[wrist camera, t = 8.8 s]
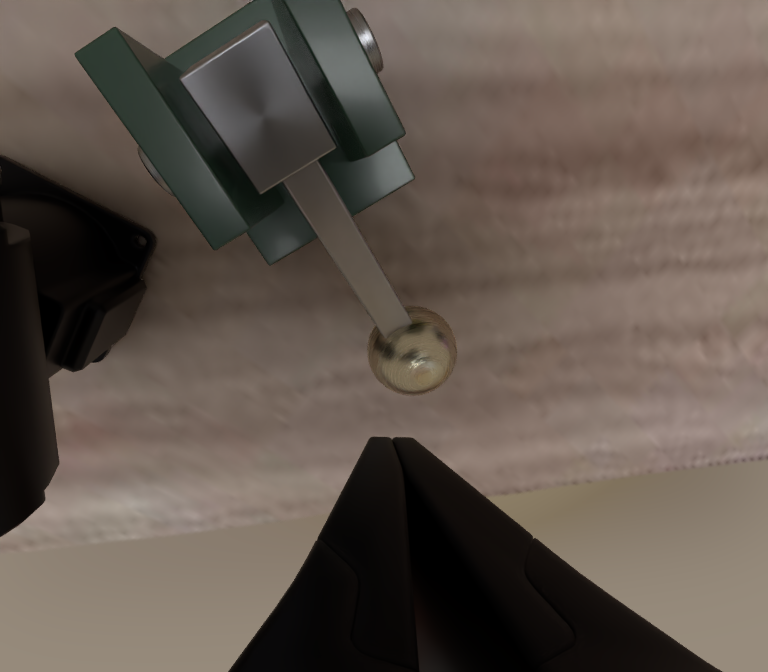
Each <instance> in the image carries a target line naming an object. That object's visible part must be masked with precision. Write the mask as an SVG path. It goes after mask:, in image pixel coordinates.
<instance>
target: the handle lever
mask: <svg viewBox="0 0 768 672" xmlns="http://www.w3.org/2000/svg"><path fill="white" fill-rule="evenodd" d="M179 81H180V83H181V84H182V85H183V87H184V88H185V90H186V91H187V93H188V94H189V95H190V97H191V98H192V100H193V101H194V103H195V104H196V105H197V107H198V108H199V110H200V111H201V113H202V114H203V115H204V117H205V118H206V120H207V121H208V122H209V124H210V125H211V127H212V128H213V130H214V131H215V132H216V134H217V135H218V137H219V138H220V140H221V141H222V142H223V144H224V145H225V147H226V148H227V150H228V151H229V152H230V154H231V155H232V157H233V158H234V159H235V161H236V162H237V164H238V165H239V167H240V168H241V169H242V171H243V172H244V174H245V175H246V177H247V178H248V179H249V181H250V182H251V184H252V185H253V187H254V188H255V189H256V191H257V192H258V193H259V194H262V193H264V192H266V191H267V190H269V189H271V188H272V187H274V186H275V185H277V184H279V183H280V182H282V183H283V185H284V186H285V188H286V189H287V191H288V192H289V194H290V195H291V197H292V199H293V200H294V202H295V203H296V205H297V206H298V208H299V209H300V211H301V212H302V214H303V215H304V217H305V218H306V220H307V221H308V223H309V224H310V226H311V227H312V229H313V231H314V232H315V234H316V235H317V237H318V238H319V240H320V241H321V243H322V244H323V246H324V247H325V249H326V250H327V252H328V253H329V255H330V256H331V258H332V259H333V261H334V263H335V264H336V266H337V267H338V269H339V270H340V272H341V273H342V275H343V276H344V278H345V279H346V281H347V282H348V284H349V285H350V287H351V288H352V290H353V292H354V293H355V295H356V296H357V298H358V299H359V301H360V302H361V304H362V305H363V307H364V308H365V310H366V311H367V313H368V314H369V316H370V317H371V319H372V320H373V322H374V324H375V326H374V328H373V330H372V332H371V334H370V337H369V340H368V346H367V355H368V361H369V365H370V367H371V370H372V372H373V373H374V375H375V377H376V378H377V379H378V380H379V382H380V383H382V384H383V385H384V386H385V387H386V388H388V389H390V390H391V391H393V392H396V393H399V394H402V395H408V396H415V395H423V394H426V393H429V392H431V391H433V390H435V389H437V388H438V387H439V386H441V385H442V384H443V383H444V382H445V381H446V380H447V379H448V377H449V376H450V374H451V373H452V371H453V368H454V366H455V363H456V358H457V343H456V339H455V336H454V333H453V331H452V329H451V328H450V326H449V324H448V323H447V322H446V321H445V320H444V319H443V318H442V317H441V316H440V315H438V314H437V313H436V312H434V311H432V310H430V309H427V308H424V307H419V306H405V307H404V305H403V304H402V302H401V300H400V298H399V297H398V295H397V293H396V291H395V290H394V288H393V286H392V285H391V283H390V281H389V279H388V278H387V276H386V274H385V273H384V271H383V269H382V267H381V266H380V264H379V262H378V260H377V259H376V257H375V255H374V254H373V252H372V250H371V248H370V247H369V245H368V243H367V242H366V240H365V238H364V236H363V235H362V233H361V231H360V229H359V228H358V226H357V224H356V223H355V221H354V219H353V217H352V216H351V214H350V212H349V211H348V209H347V207H346V205H345V204H344V202H343V200H342V198H341V197H340V195H339V193H338V192H337V190H336V188H335V186H334V185H333V183H332V181H331V179H330V178H329V176H328V174H327V173H326V171H325V169H324V167H323V166H322V164H321V162H320V161H319V158H321V157H323V156H324V155H326V154H327V153H329V152H331V151H332V150H334V149H336V147H337V145H336V143H335V141H334V139H333V137H332V135H331V133H330V132H329V130H328V128H327V126H326V124H325V122H324V121H323V119H322V117H321V115H320V113H319V111H318V110H317V108H316V106H315V104H314V102H313V100H312V98H311V97H310V95H309V93H308V91H307V89H306V87H305V86H304V84H303V82H302V80H301V78H300V76H299V75H298V73H297V71H296V69H295V67H294V65H293V63H292V62H291V60H290V58H289V56H288V54H287V52H286V51H285V49H284V47H283V45H282V43H281V41H280V40H279V38H278V36H277V34H276V32H275V30H274V28H273V27H272V25H271V23H270V22H269V21H266V20H262V21H260V22H258V23H257V24H255V25H254V26H252V27H251V28H249V29H248V30H246V31H245V32H243V33H242V34H240V35H238V36H237V37H235V38H234V39H232V40H231V41H229V42H228V43H226V44H225V45H223V46H222V47H220V48H218V49H217V50H215V51H214V52H212V53H211V54H209V55H208V56H206V57H205V58H203V59H202V60H200V61H198V62H197V63H195V64H194V65H192V66H191V67H190V68H188V69H187V70H186V71H185V72H184V73H183V74H182V75H181V76H180V78H179Z"/></svg>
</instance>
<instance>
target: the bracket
mask: <svg viewBox="0 0 768 672" xmlns="http://www.w3.org/2000/svg"><path fill="white" fill-rule="evenodd" d="M262 20H266V21H269V22H270V23H271V25H272V27H273V28H274V30H275V32H276V34H277V36H278V38H279V40H280V41H281V43H282V45H283V47H284V49H285V51H286V52H287V54H288V56H289V58H290V60H291V62H292V63H293V65H294V67H295V69H296V71H297V73H298V75H299V76H300V78H301V80H302V82H303V84H304V86H305V87H306V89H307V91H308V93H309V95H310V97H311V98H312V100H313V102H314V104H315V106H316V108H317V110H318V111H319V113H320V115H321V117H322V119H323V121H324V122H325V124H326V126H327V128H328V130H329V132H330V133H331V135H332V137H333V139H334V141H335V143H336V145H337V147H336V149H334V150H332V151H331V152H329V153H327V154H326V155H324V156H323V157H321V158H319V161H320V162H321V164H322V166H323V167H324V169H325V171H326V173H327V174H328V176H329V178H330V179H331V181H332V183H333V185H334V186H335V188H336V190H337V192H338V193H339V195H340V197H341V198H342V200H343V202H344V204H345V205H346V207H347V209H348V211H349V212H350V214H351V216H352V217H353V216H354V215H356V214H358V213H359V212H361V211H363V210H364V209H366V208H368V207H369V206H371V205H373V204H374V203H376V202H378V201H379V200H381V199H383V198H384V197H386V196H388V195H389V194H391V193H393V192H394V191H396V190H398V189H399V188H401V187H403V186H404V185H406V184H408V183H409V182H411V181H413V180H414V179H415V176H414V174H413V172H412V170H411V168H410V166H409V164H408V162H407V160H406V158H405V156H404V154H403V152H402V151H401V149H400V147H399V145H398V143H397V141H396V140H398V139H400V138H401V137H403V136H404V135H405V134H406V133H405V130H404V128H403V126H402V123H401V121H400V119H399V117H398V115H397V113H396V111H395V109H394V107H393V105H392V103H391V101H390V99H389V97H388V95H387V93H386V91H385V89H384V87H383V85H382V83H381V81H380V79H379V77H378V75H377V73H379V72H380V71H382V69H383V60H382V56H381V53H380V50H379V47H378V45H377V42H376V40H375V37H374V35H373V33H372V31H371V29H370V27H369V25H368V23H367V21H366V20H365V18H364V17H363V15H362V14H361V12H360V11H359V10H358V9H357V8H352V9H350V10H349V11H347V12H346V11H345V9H344V7H343V5H342V2H341V0H253V1H252V2H250V3H249V4H247V5H246V6H244V7H243V8H241V9H240V10H238V11H236V12H235V13H233V14H232V15H230V16H229V17H227V18H226V19H224V20H223V21H221V22H220V23H218V24H217V25H215V26H214V27H212V28H210V29H209V30H207V31H206V32H204V33H203V34H201V35H200V36H198V37H197V38H195V39H194V40H192V41H191V42H189V43H188V44H186V45H185V46H183V47H181V48H180V49H178V50H177V51H175V52H174V53H172V54H171V55H169V56H168V57H166V58H165V59H163V58H162V57H160V56H159V55H157V54H156V53H154V52H153V51H151V50H150V49H148V48H147V47H145V46H144V45H142V44H141V43H139V42H138V41H136V40H135V39H133V38H132V37H130V36H129V35H127V34H126V33H124V32H123V31H121V30H120V29H118V28H117V27H113V28H112V29H110V30H109V31H107V32H106V33H104V34H103V35H101V36H100V37H98V38H97V39H95V40H94V41H92V42H91V43H89V44H88V45H86V46H85V47H83V48H82V49H80V50H79V51H77V52H76V53H75V57H76V58H77V60H78V61H79V63H80V64H81V65H82V67H83V68H84V70H85V71H86V72H87V74H88V75H89V77H90V78H91V79H92V81H93V82H94V84H95V85H96V86H97V88H98V89H99V91H100V92H101V93H102V95H103V96H104V98H105V99H106V100H107V102H108V103H109V105H110V106H111V107H112V109H113V110H114V112H115V113H116V114H117V116H118V117H119V119H120V120H121V121H122V123H123V124H124V126H125V127H126V128H127V130H128V131H129V133H130V134H131V135H132V137H133V138H134V140H135V141H136V142H137V144H138V145H139V146H138V153H139V156H140V158H141V160H142V162H143V164H144V166H145V167H146V169H147V170H148V172H149V173H150V175H151V176H152V177H153V178H154V180H155V181H156V182H157V183H158V184H159V185H160V186H161V187H162V188H163V189H164V190H165V191H166V192H168V193H169V194H170V195H172V196H174V197H176V198H177V200H178V201H179V202H180V204H181V205H182V207H183V208H184V209H185V211H186V212H187V214H188V215H189V216H190V218H191V219H192V221H193V222H194V223H195V225H196V226H197V228H198V229H199V230H200V232H201V233H202V235H203V236H204V237H205V239H206V240H207V242H208V243H209V244H210V246H211V247H212V249H213V250H218V249H219V248H221V247H222V246H224V245H226V244H227V243H229V242H231V241H232V240H234V239H236V238H237V237H239V236H241V235H242V234H244V233H245V232H246V233H247V234H248V236H249V237H250V238H251V240H252V241H253V243H254V244H255V246H256V247H257V249H258V250H259V252H260V253H261V255H262V256H263V258H264V259H265V261H266V262H267V264H268V265H269V266H271V265H273V264H274V263H276V262H278V261H279V260H281V259H283V258H284V257H286V256H288V255H289V254H291V253H293V252H294V251H296V250H298V249H299V248H301V247H303V246H304V245H306V244H308V243H309V242H311V241H313V240H314V239H316V238H318V237H317V235H316V234H315V232H314V231H313V229H312V227H311V226H310V224H309V223H308V221H307V220H306V218H305V217H304V215H303V214H302V212H301V211H300V209H299V208H298V206H297V205H296V203H295V202H294V200H293V199H292V197H291V195H290V194H289V192H288V191H287V189H286V188H285V186H284V185H283V183H282V182H280V183H279V184H277V185H275V186H274V187H272V188H271V189H269V190H267V191H266V192H264V193H262V194H259V193H258V192H257V191H256V189H255V188H254V187H253V185H252V184H251V182H250V181H249V179H248V178H247V177H246V175H245V174H244V172H243V171H242V169H241V168H240V167H239V165H238V164H237V162H236V161H235V159H234V158H233V157H232V155H231V154H230V152H229V151H228V150H227V148H226V147H225V145H224V144H223V142H222V141H221V140H220V138H219V137H218V135H217V134H216V132H215V131H214V130H213V128H212V127H211V125H210V124H209V122H208V121H207V120H206V118H205V117H204V115H203V114H202V113H201V111H200V110H199V108H198V107H197V105H196V104H195V103H194V101H193V100H192V98H191V97H190V95H189V94H188V93H187V91H186V90H185V88H184V87H183V85H182V84H181V83H180V81H179V78H180V76H181V75H182V74H183V73H184V72H185V71H186V70H187V69H188V68H190V67H191V66H192V65H194V64H195V63H197V62H198V61H200V60H202V59H203V58H205V57H206V56H208V55H209V54H211V53H212V52H214V51H215V50H217V49H218V48H220V47H222V46H223V45H225V44H226V43H228V42H229V41H231V40H232V39H234V38H235V37H237V36H238V35H240V34H242V33H243V32H245V31H246V30H248V29H249V28H251V27H252V26H254V25H255V24H257V23H258V22H260V21H262Z"/></svg>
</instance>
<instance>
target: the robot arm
mask: <svg viewBox="0 0 768 672" xmlns="http://www.w3.org/2000/svg"><path fill="white" fill-rule="evenodd" d="M0 166H1V168H2V173H0V537H1V536H3V535H4V534H6V533H7V532H9V531H11V530H12V529H14V528H15V527H17V526H18V525H19V524H21V523H22V522H23V521H24V520H25V519H27V518H28V517H29V516H30V515H31V514H32V513H33V512H34V511H35V510H36V509H38V508H39V507H40V506H41V505H42V504H43V503H44V501H45V493H44V490H45V489H46V487H47V486H48V485H49V483H50V481H51V479H52V477H53V475H54V473H55V471H56V469H57V467H58V465H59V456H58V449H57V441H56V433H55V425H54V418H53V410H52V402H51V394H50V386H49V378H50V377H51V376H53V375H54V374H55V373H57V372H58V371H59V370H61V369H62V368H64V369H66V370H69V371H71V372H76V371H79V370H82V369H84V368H85V367H86V366H87V365H89V364H90V363H91V362H92V363H96V362H99V361H101V360H103V359H104V358H105V357H106V356H107V355H108V353H109V351H110V349H111V346H112V345H113V344H115V343H116V342H117V341H118V340H119V339H121V338H122V337H123V336H124V335H126V333H127V331H128V329H129V326H130V324H131V322H132V320H133V317H134V315H135V313H136V311H137V308H138V306H139V304H140V302H141V299H142V297H143V295H144V293H145V290H146V288H147V286H146V283H145V281H144V280H142V279H141V278H142V276H143V273H144V271H145V269H146V267H147V264H148V262H149V260H150V257H151V255H152V253H153V251H154V248H155V246H156V238H155V236H154V234H153V233H152V232H151V231H150V230H148V229H147V228H145V227H143V226H141V225H139V224H137V223H135V222H133V221H131V220H129V219H127V218H125V217H123V216H121V215H119V214H117V213H115V212H113V211H111V210H109V209H107V208H105V207H103V206H101V205H99V204H97V203H96V202H94V201H92V200H90V199H88V198H86V197H84V196H82V195H80V194H78V193H76V192H74V191H72V190H70V189H68V188H66V187H64V186H62V185H60V184H58V183H56V182H54V181H52V180H50V179H48V178H46V177H45V176H43V175H41V174H39V173H37V172H35V171H33V170H31V169H29V168H27V167H25V166H23V165H21V164H19V163H17V162H15V161H13V160H11V159H9V158H7V157H5V156H2V155H0ZM139 235H141V236H143V237H144V238H145V239H146V241H147V243H146V245H145V246H141V245H140V244H139V243H138V241H137V237H138V236H139ZM228 672H722V671H720V670H719V669H717V668H715V667H714V666H712V665H710V664H709V663H707V662H706V661H704V660H703V659H701V658H700V657H698V656H697V655H695V654H694V653H693V652H691V651H690V650H688V649H687V648H685V647H684V646H683V645H681V644H680V643H678V642H677V641H675V640H674V639H673V638H671V637H670V636H668V635H667V634H665V633H664V632H662V631H661V630H660V629H658V628H657V627H655V626H654V625H652V624H651V623H650V622H648V621H646V620H645V619H644V618H642V617H641V616H639V615H638V614H637V613H635V612H634V611H632V610H631V609H629V608H628V607H627V606H625V605H624V604H622V603H621V602H619V601H618V600H616V599H615V598H613V597H612V596H611V595H609V594H608V593H607V592H605V591H604V590H603V589H601V588H600V587H598V586H597V585H596V584H594V583H593V582H592V581H590V580H589V579H587V578H586V577H585V576H583V575H582V574H580V573H579V572H578V571H577V570H575V569H574V568H573V567H571V566H570V565H569V564H568V563H566V562H565V561H564V560H562V559H561V558H560V557H559V556H557V555H556V554H555V553H553V552H552V551H551V550H550V549H549V548H547V547H546V546H545V545H544V544H542V543H541V542H540V541H539V540H538V539H536V538H534V539H533V536H532V535H531V534H530V533H529V532H528V531H526V530H525V529H524V528H523V527H521V526H520V525H519V524H518V523H517V522H515V521H514V520H513V519H512V518H510V517H509V516H508V515H507V514H506V513H504V512H503V511H501V509H499V508H498V507H497V506H496V505H495V504H493V503H492V502H491V501H490V500H488V499H487V498H486V497H485V496H484V495H482V494H481V493H480V492H479V491H477V490H476V489H475V488H474V487H473V486H471V485H470V484H469V483H468V482H466V481H465V480H464V479H463V478H461V477H460V476H459V475H458V474H457V473H455V472H454V471H453V470H452V469H450V468H449V467H448V466H447V465H446V464H444V463H443V462H442V461H441V460H439V459H438V458H437V457H436V456H435V455H433V454H432V453H431V452H430V451H428V450H427V449H426V448H425V447H424V446H422V445H421V444H420V443H419V442H417V441H416V440H415V439H413V438H406V437H395V438H393V439H391V438H389V437H371V438H370V439H369V440H368V442H367V444H366V446H365V448H364V450H363V452H362V454H361V456H360V458H359V459H358V461H357V463H356V465H355V467H354V469H353V471H352V473H351V475H350V477H349V479H348V481H347V483H346V484H345V486H344V488H343V490H342V492H341V494H340V496H339V498H338V500H337V502H336V504H335V506H334V507H333V509H332V511H331V513H330V515H329V517H328V519H327V521H326V523H325V525H324V527H323V529H322V531H321V533H320V534H319V536H318V539H317V541H316V542H315V543H314V546H313V547H312V549H311V551H310V553H309V555H308V557H307V559H306V560H305V562H304V564H303V566H302V567H301V569H300V571H299V572H298V574H297V576H296V578H295V579H294V581H293V582H292V584H291V585H290V587H289V588H288V590H287V591H286V593H285V594H284V596H283V597H282V599H281V600H280V602H279V603H278V605H277V606H276V607H275V609H274V610H273V611H272V613H271V614H270V615H269V617H268V618H267V620H266V621H265V622H264V624H263V625H262V626H261V628H260V629H259V630H258V632H257V633H256V635H255V636H254V637H253V639H252V640H251V641H250V643H249V644H248V645H247V647H246V648H245V650H244V651H243V652H242V654H241V655H240V656H239V658H238V659H237V660H236V662H235V663H234V665H233V666H232V667H231V669H230V670H229V671H228Z"/></svg>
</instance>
